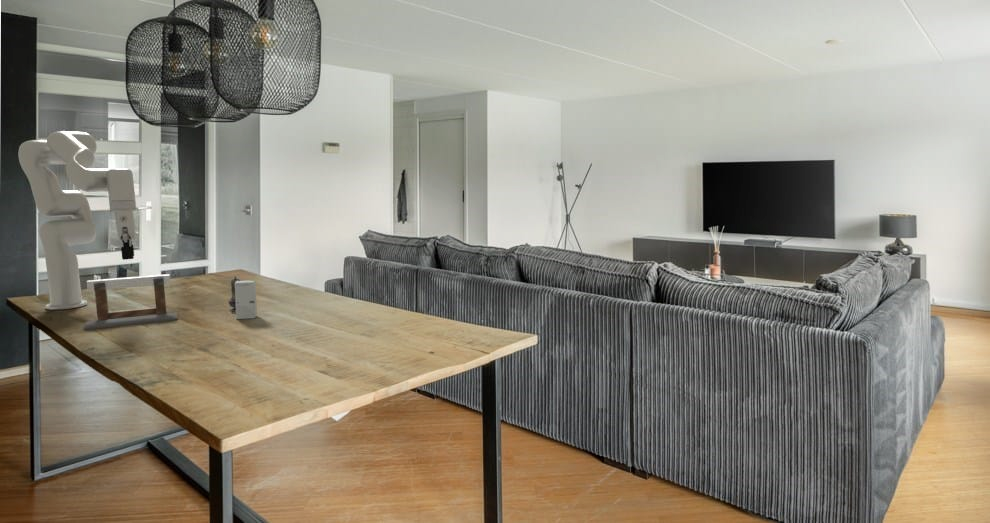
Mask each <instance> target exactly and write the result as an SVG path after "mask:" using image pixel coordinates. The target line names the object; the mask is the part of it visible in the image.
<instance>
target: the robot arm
mask: <svg viewBox="0 0 990 523" xmlns="http://www.w3.org/2000/svg"><path fill="white" fill-rule="evenodd" d="M18 148H19V149H18V154H17V155H18V160H19V164H20V166H21V170H23V172H24V174H25V175H26V178H27V179H28V182H29V184H30V188H31V191H32V195H33V198H34V203H35V205H36V209H37V212H38V213H39V214H40V215H41V217H42V216H43V217H46V218H60V217H61V218H63V217H71V219H70V218H65V219H54V220H53V219H51V220H48V221H45V222H43V223H42V224H41V225H40V226H39V228H38V235H39V239H40V241H41V242H40V243H41V245H42V248H43V254H44V258H45V267H46V268H45V269H46V275H47V283H48V284H47V285H48V294H49V297H48V298H49V302H50V303H46V304H45V306H44V307H45V309H46V310H53V311H54V310H58V311H59V310H70V309H75V308H81V307H84V306H86V305H88V301H87V300H86V299H85V300H84V299H83V298H82V288H81V287H82V286H81V281H80V280H81V279H80V270H79V269H80V268H79V261H78V257H77V254H76V253H75V252H74V251H73V249H71V247H70V246H77V245H86V244H91V243H92V242H94V241H95V239H96V237H97V229H96V225H95V220H94V217H93V214H92V210H91V206H90V203H89V200H88V198H87V196H86V195H85V194H84V193H83V192H87V193H88V192H89V193H93V192H96V193H97V192H105V193H106V192H107V193H108V194H107V195H108V203H109V210H110V211H109V212H114V218H115V225H116V232H117V237H118V241H120V243H121V247H120V251H121V252H120V253H121V257H122V258H121V259H122V260H123V261H125V260H134V256H135V250H134V244H133V241H136V240H137V233H136V232H137V231H136V223H135V222H136V221H135V216H134V211H137V204H136V193H135V185H134V173H133V171H132V169H130V168H91V167H92V165H93V164H94V162H95V153H96V151H97V141H96V140H95V138H94V137H93V136H92V135H91V134H89V133H87V132H83V131H70V130H69V131H65V130H60V131H58V130H57V131H54V132H52V133H50V134H48V136H47V138H46V139H31V140H26V141H24V142H22V143H21V144H20V145H19V147H18ZM46 165H65V174H66V176H67V179H68V181H70V183H72V184H73V185H74V186H75V187H76V188H77V189H78V190H73V189H71V190H70V189H69V190H68V189H67V190H65V189H64V190H63V189H62V187H61V185H60V181H59V178H58V177H57V175H56V174H55V173H54V172H53V171H52V170H51V168H48V167H47V166H46ZM79 190H80V191H79Z"/></svg>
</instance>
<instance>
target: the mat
mask: <svg viewBox="0 0 990 523" xmlns="http://www.w3.org/2000/svg"><path fill="white" fill-rule="evenodd" d="M178 319H179V317H178V312H166V313H165V314H151V315H141V316H132V317H122V318H112V319H108V320H98V319H97V320H91V321H90V320H89V321H85V323H84V325H83V328H82V330H83V331H86V330H87V331H88V330H97V329H107V328H113V327H126V326H133V325H141V324H142V325H143V324H151V323H152V324H153V323H161V322H171V321H178Z"/></svg>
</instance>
